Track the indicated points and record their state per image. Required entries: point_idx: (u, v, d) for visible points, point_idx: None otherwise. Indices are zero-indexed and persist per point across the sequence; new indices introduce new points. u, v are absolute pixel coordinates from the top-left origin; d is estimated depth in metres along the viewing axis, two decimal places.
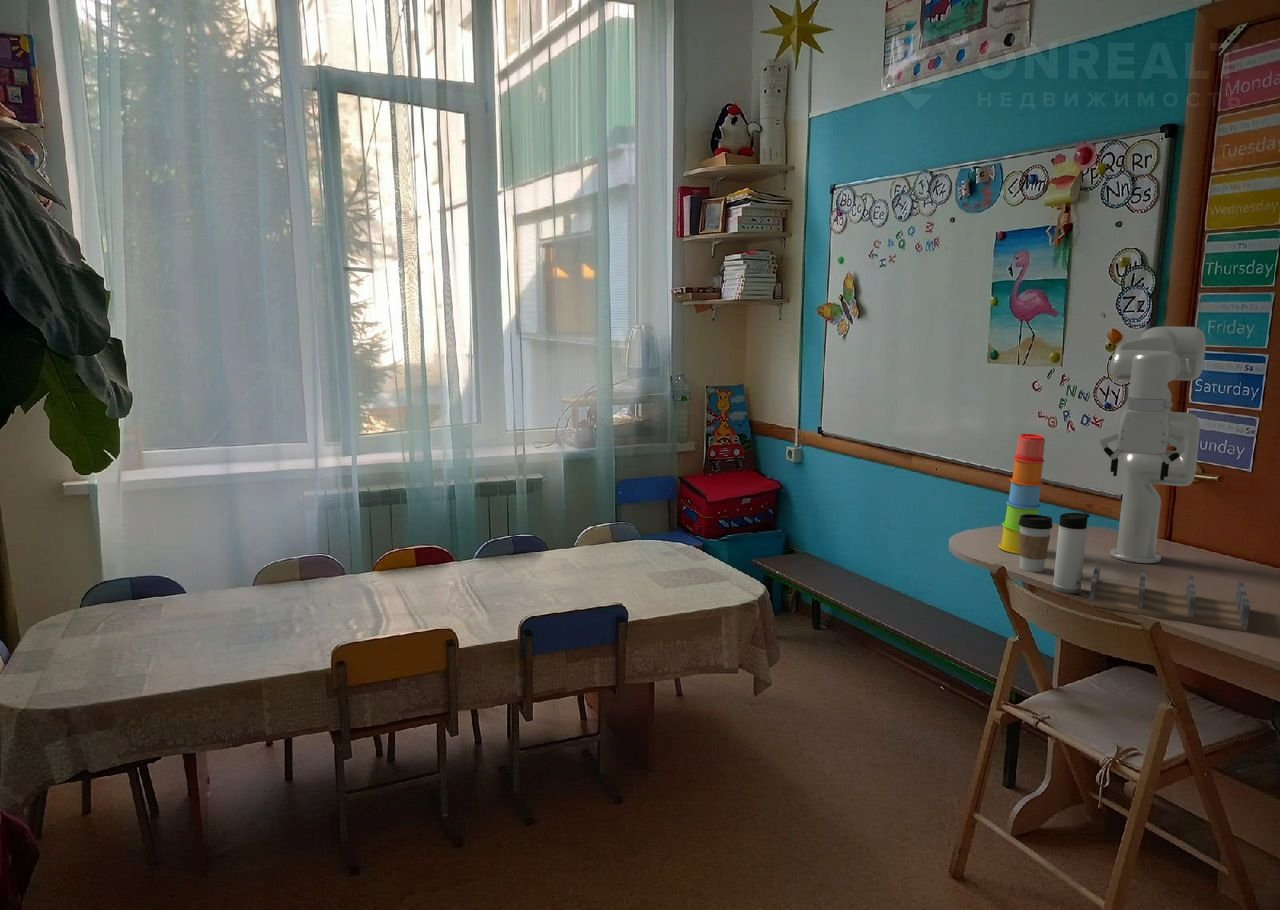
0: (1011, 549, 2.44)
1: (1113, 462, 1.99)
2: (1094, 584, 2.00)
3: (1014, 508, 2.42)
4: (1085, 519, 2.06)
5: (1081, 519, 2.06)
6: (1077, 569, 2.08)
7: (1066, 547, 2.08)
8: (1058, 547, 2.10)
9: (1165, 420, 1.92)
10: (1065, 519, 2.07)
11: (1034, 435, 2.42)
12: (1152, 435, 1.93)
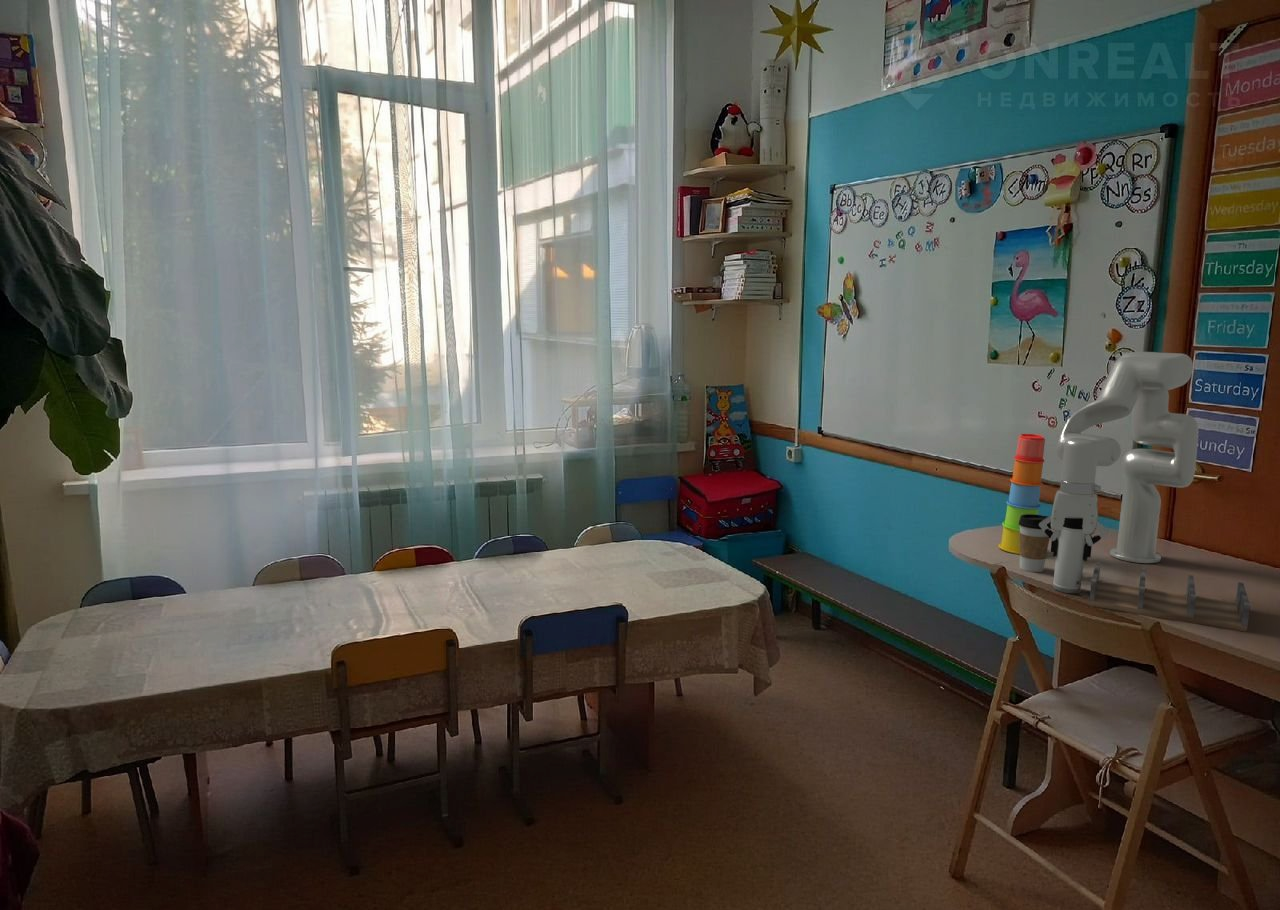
0: (1011, 549, 2.44)
1: (1053, 543, 2.11)
2: (1094, 584, 2.00)
3: (1014, 508, 2.42)
4: None
5: (1082, 519, 2.06)
6: (1077, 569, 2.08)
7: (1067, 547, 2.08)
8: (1058, 547, 2.10)
9: (1093, 503, 2.04)
10: (1066, 519, 2.07)
11: (1034, 435, 2.42)
12: (1082, 516, 2.06)
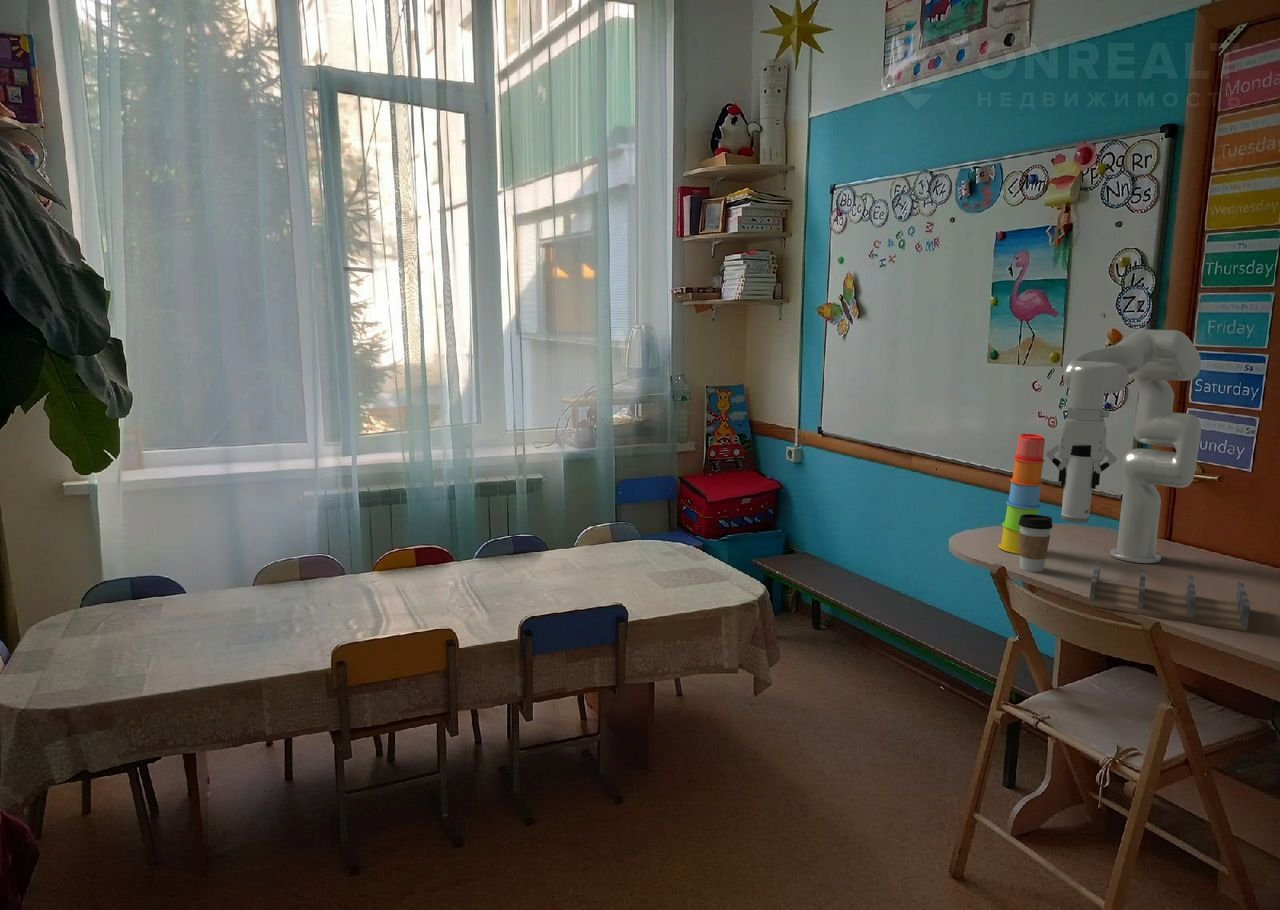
0: (1011, 549, 2.44)
1: (1061, 472, 2.08)
2: (1094, 584, 2.00)
3: (1014, 508, 2.42)
4: None
5: (1090, 446, 2.03)
6: (1085, 498, 2.05)
7: (1075, 475, 2.05)
8: (1066, 476, 2.07)
9: (1102, 429, 2.01)
10: (1073, 447, 2.04)
11: (1034, 435, 2.42)
12: (1090, 443, 2.03)
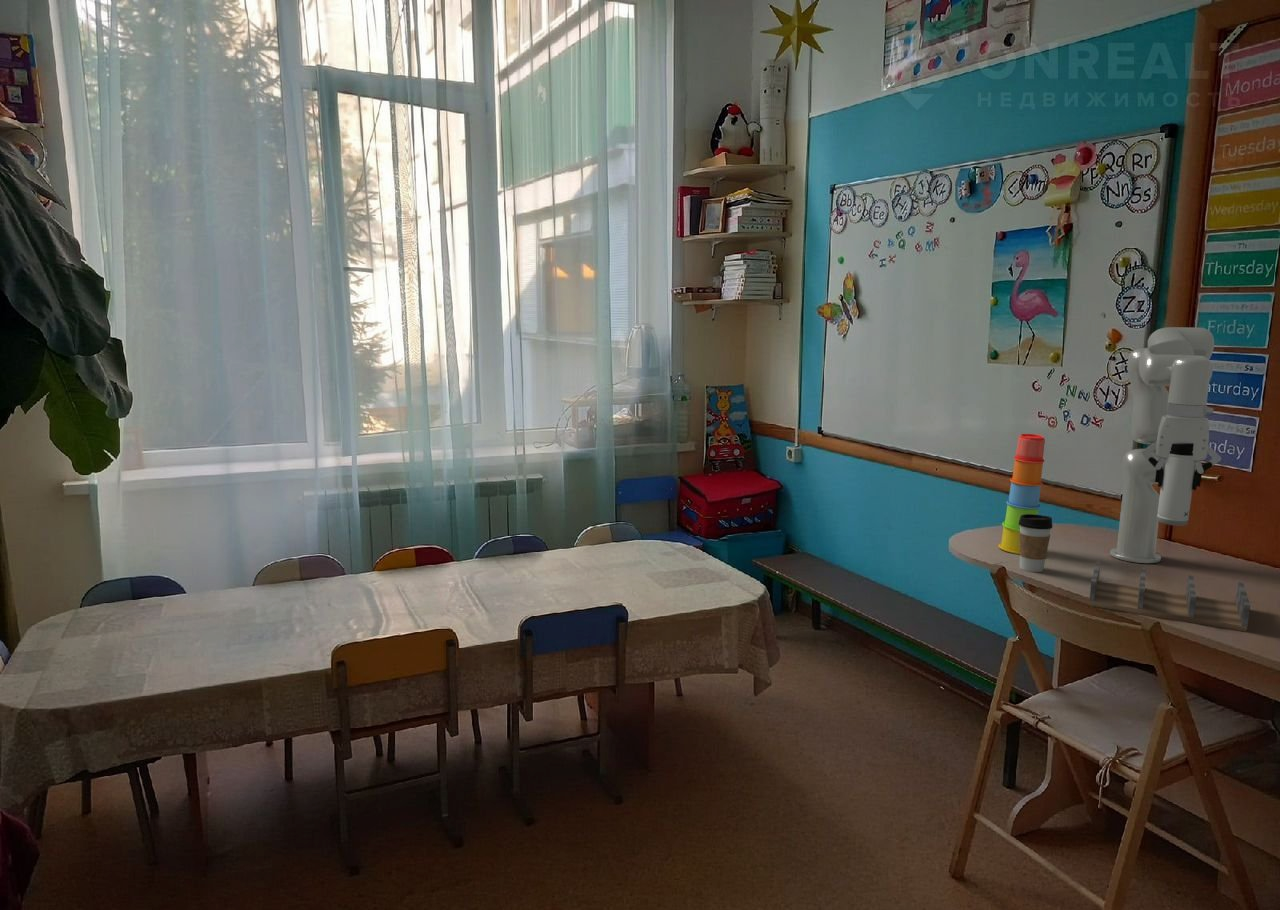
0: (1011, 549, 2.44)
1: (1158, 472, 1.96)
2: (1094, 584, 2.00)
3: (1014, 508, 2.42)
4: None
5: (1192, 444, 1.91)
6: (1185, 500, 1.93)
7: (1175, 475, 1.93)
8: (1164, 476, 1.95)
9: (1206, 426, 1.89)
10: (1174, 445, 1.92)
11: (1034, 435, 2.42)
12: (1192, 441, 1.91)
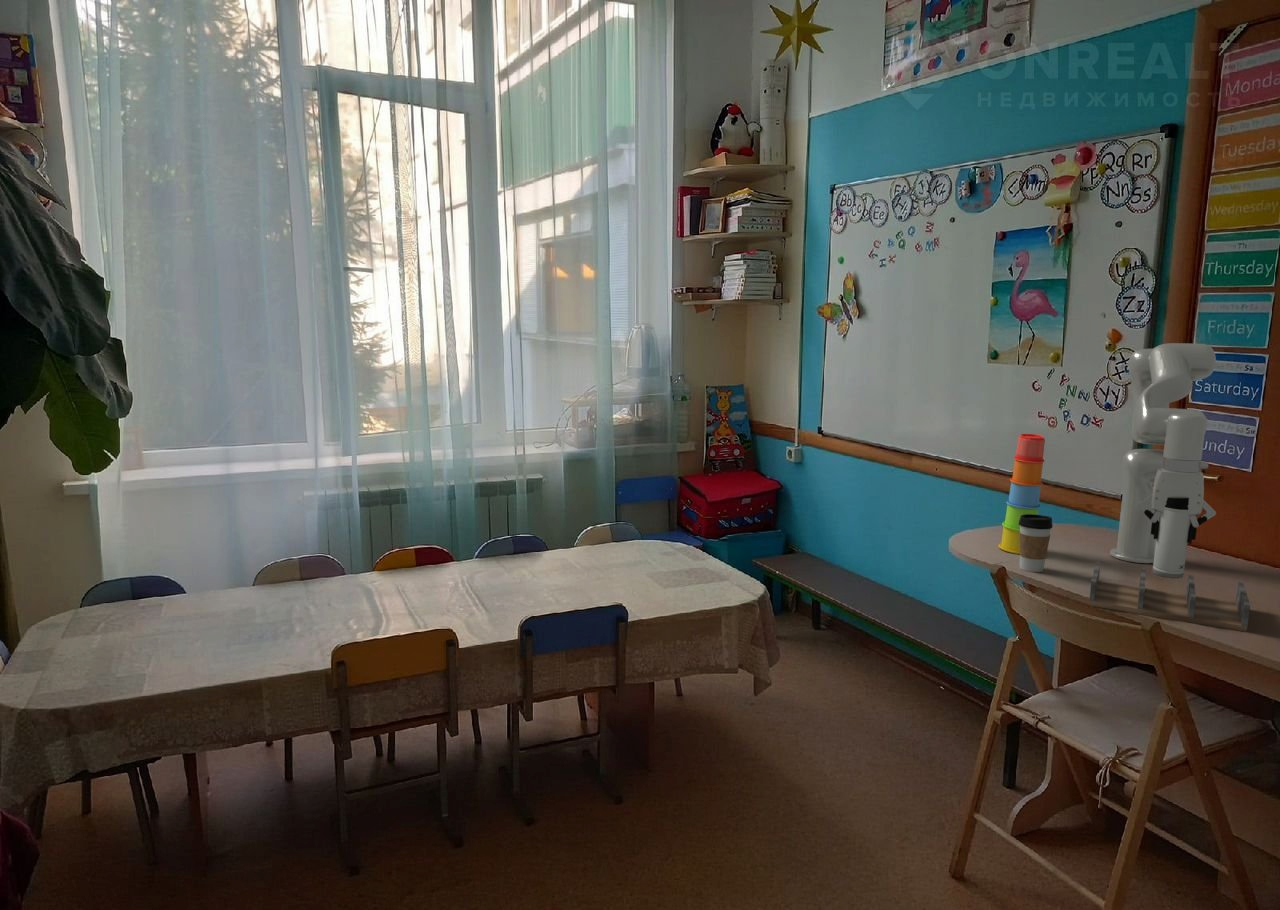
0: (1011, 549, 2.44)
1: (1153, 525, 1.98)
2: (1094, 584, 2.00)
3: (1014, 508, 2.42)
4: None
5: (1187, 499, 1.93)
6: (1181, 553, 1.95)
7: (1170, 529, 1.95)
8: (1160, 529, 1.97)
9: (1200, 481, 1.91)
10: (1169, 499, 1.94)
11: (1034, 435, 2.42)
12: (1188, 495, 1.93)
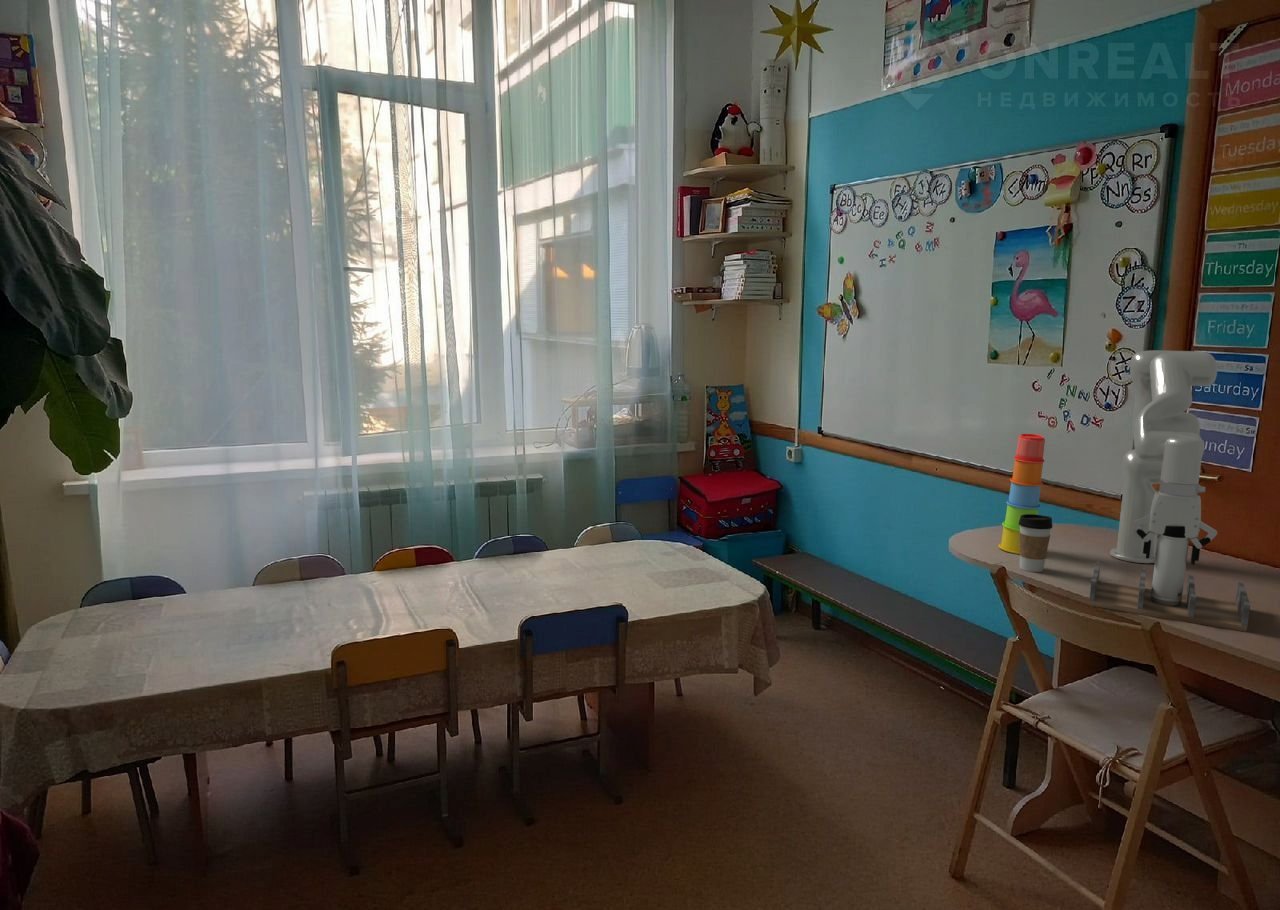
0: (1011, 549, 2.44)
1: (1146, 544, 2.00)
2: (1094, 584, 2.00)
3: (1014, 508, 2.42)
4: None
5: (1184, 527, 1.94)
6: (1178, 580, 1.96)
7: (1168, 557, 1.96)
8: (1158, 557, 1.98)
9: (1198, 505, 1.92)
10: (1166, 527, 1.96)
11: (1034, 435, 2.42)
12: (1185, 519, 1.94)
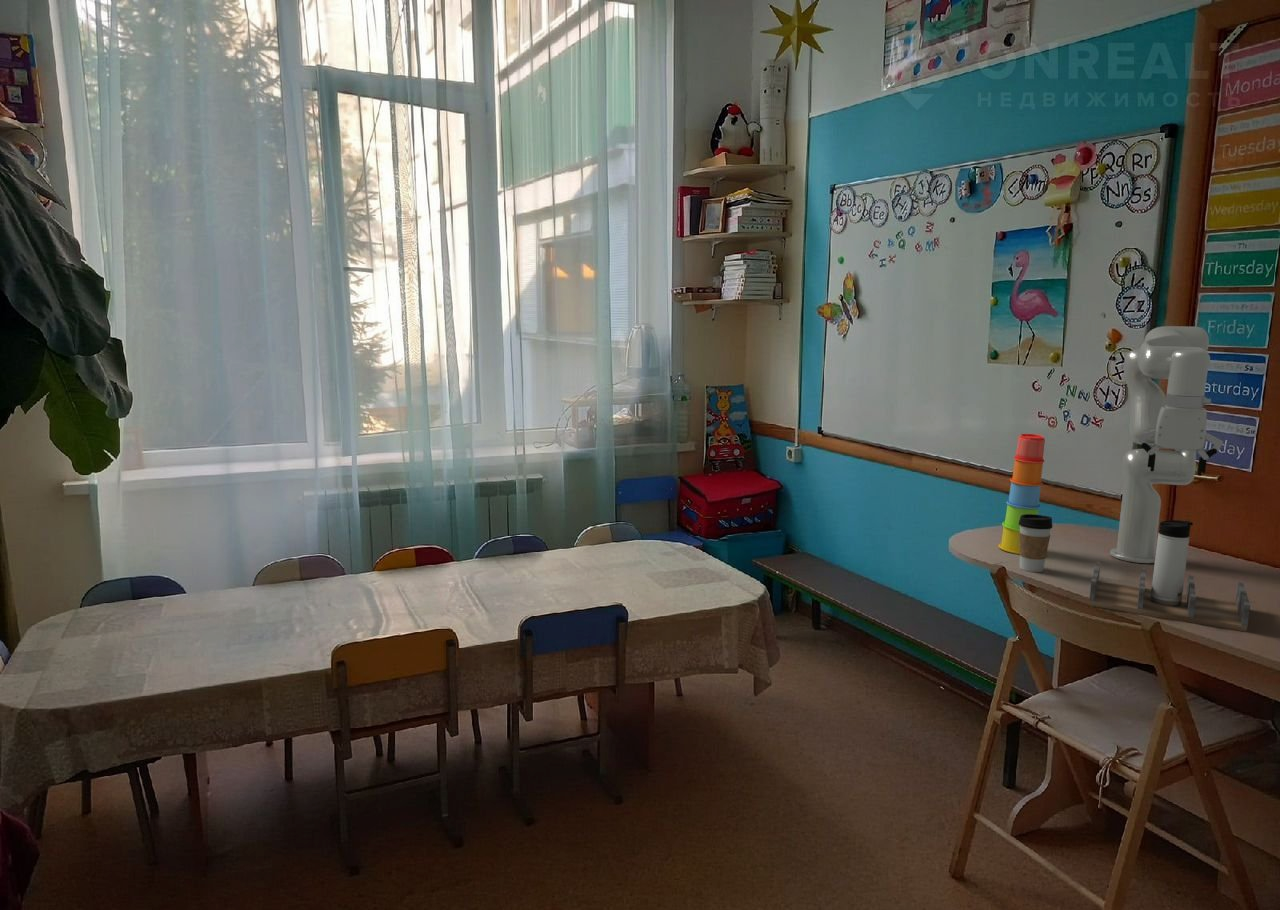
0: (1011, 549, 2.44)
1: (1150, 457, 2.02)
2: (1094, 584, 2.00)
3: (1014, 508, 2.42)
4: (1188, 527, 1.94)
5: (1184, 527, 1.94)
6: (1178, 580, 1.96)
7: (1168, 557, 1.96)
8: (1158, 556, 1.98)
9: (1203, 417, 1.94)
10: (1166, 527, 1.96)
11: (1034, 435, 2.42)
12: (1190, 431, 1.96)
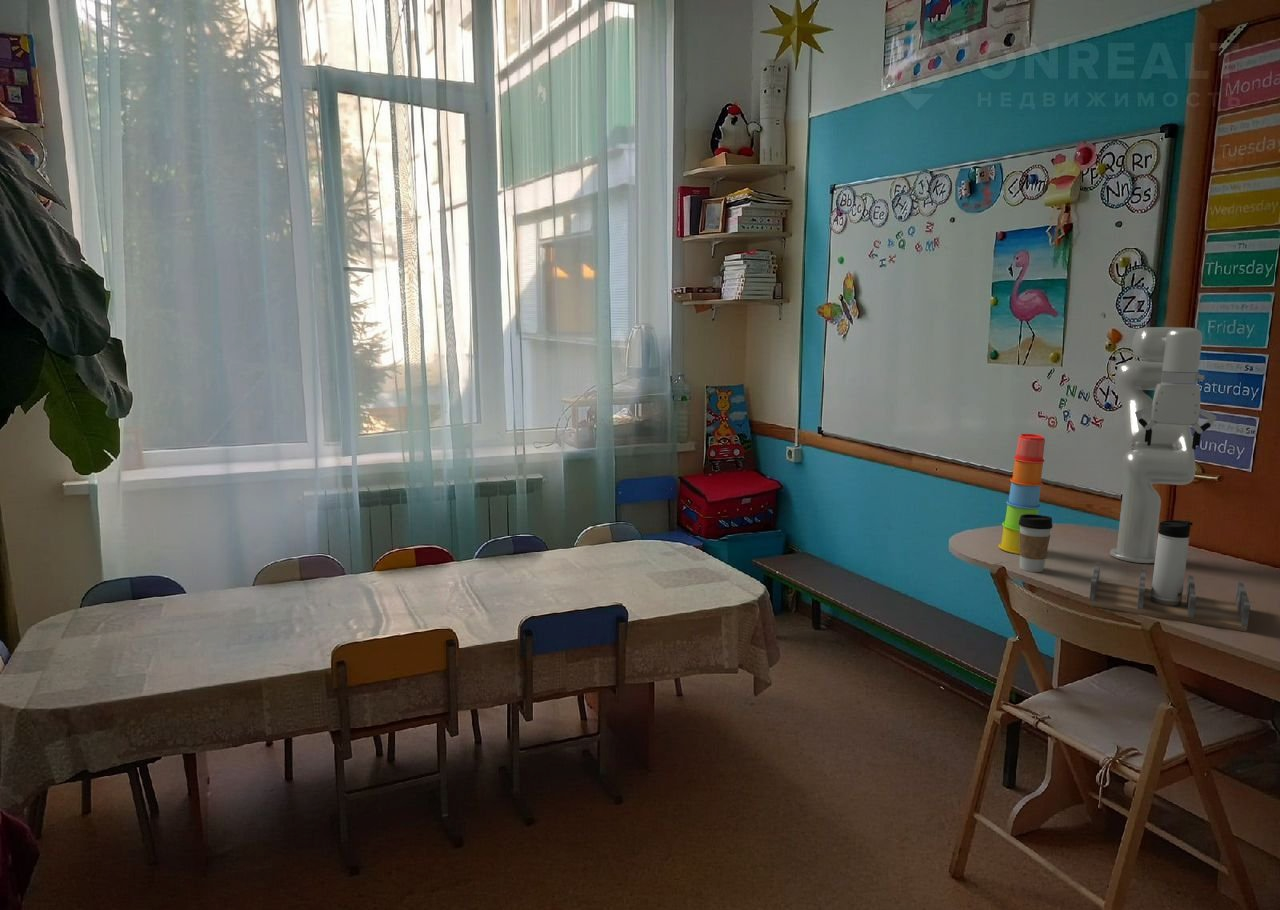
0: (1011, 549, 2.44)
1: (1147, 432, 2.12)
2: (1094, 584, 2.00)
3: (1014, 508, 2.42)
4: (1188, 527, 1.94)
5: (1184, 527, 1.94)
6: (1178, 580, 1.96)
7: (1168, 557, 1.96)
8: (1158, 556, 1.98)
9: (1197, 392, 2.04)
10: (1166, 527, 1.96)
11: (1034, 435, 2.42)
12: (1185, 406, 2.06)
